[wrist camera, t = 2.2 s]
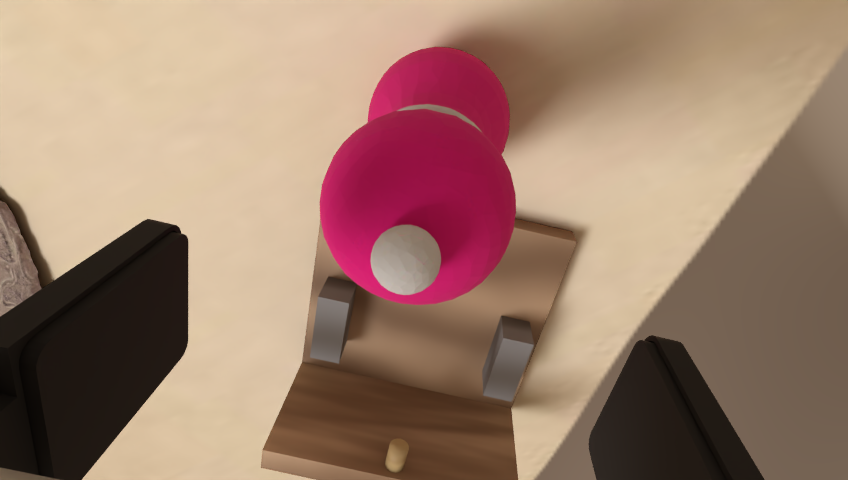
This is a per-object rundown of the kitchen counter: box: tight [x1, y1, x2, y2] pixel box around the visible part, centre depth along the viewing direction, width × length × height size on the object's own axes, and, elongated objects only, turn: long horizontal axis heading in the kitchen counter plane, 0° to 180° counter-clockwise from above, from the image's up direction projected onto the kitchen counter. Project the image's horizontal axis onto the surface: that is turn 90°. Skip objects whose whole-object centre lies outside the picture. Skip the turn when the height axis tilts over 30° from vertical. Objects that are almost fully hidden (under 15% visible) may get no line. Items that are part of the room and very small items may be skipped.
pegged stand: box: [261, 219, 577, 480], centre depth 32 cm, size 16×16×10 cm
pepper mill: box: [320, 47, 516, 305], centre depth 21 cm, size 7×7×20 cm
